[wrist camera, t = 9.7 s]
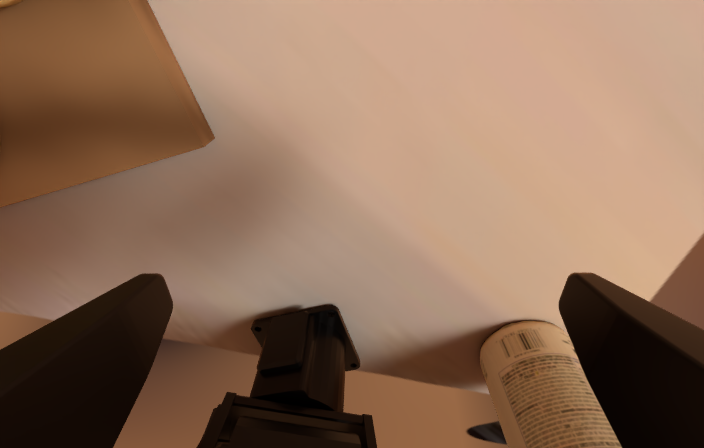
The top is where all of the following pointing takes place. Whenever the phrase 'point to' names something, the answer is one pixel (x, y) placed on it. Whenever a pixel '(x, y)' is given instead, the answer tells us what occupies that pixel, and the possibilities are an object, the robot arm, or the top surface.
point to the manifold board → (87, 94)
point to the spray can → (542, 389)
